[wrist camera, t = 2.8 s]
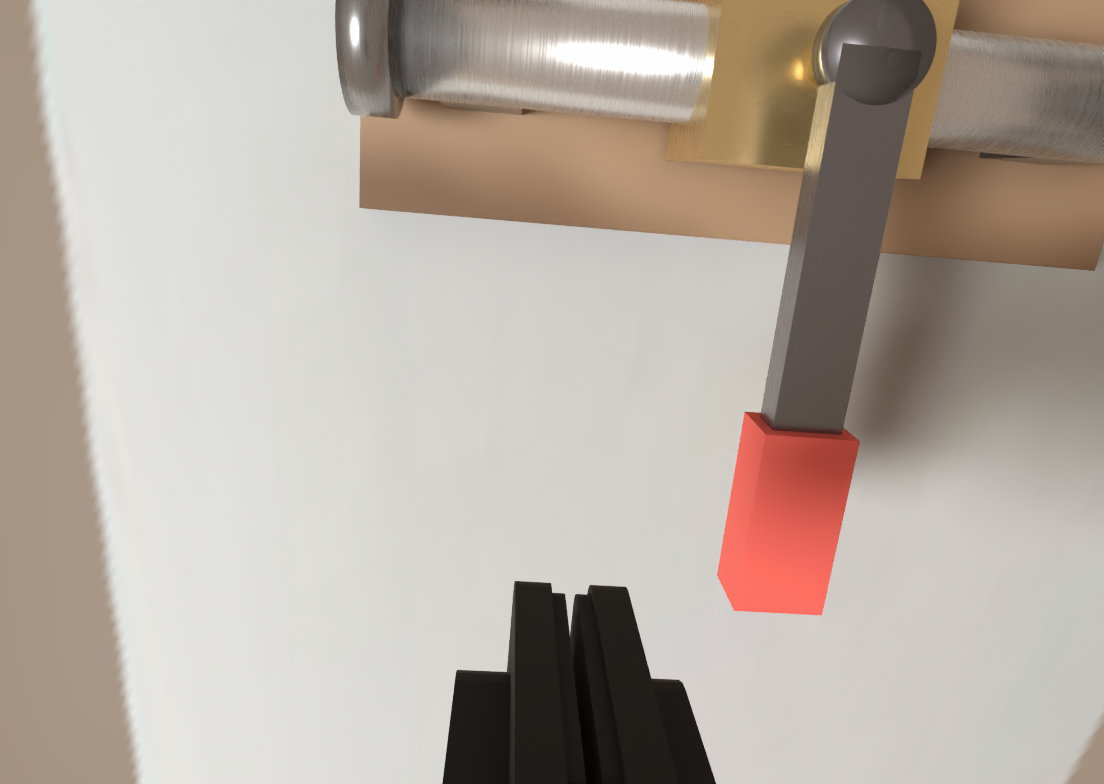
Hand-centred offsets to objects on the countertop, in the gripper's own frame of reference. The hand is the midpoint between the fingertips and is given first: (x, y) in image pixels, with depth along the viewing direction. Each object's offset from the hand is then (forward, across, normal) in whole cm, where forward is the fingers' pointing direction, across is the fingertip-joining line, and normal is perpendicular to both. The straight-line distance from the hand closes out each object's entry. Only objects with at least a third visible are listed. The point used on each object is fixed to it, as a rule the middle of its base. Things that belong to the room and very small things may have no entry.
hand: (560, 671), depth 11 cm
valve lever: (+10, -7, -4) cm, 12 cm away
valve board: (+18, -7, -10) cm, 22 cm away
